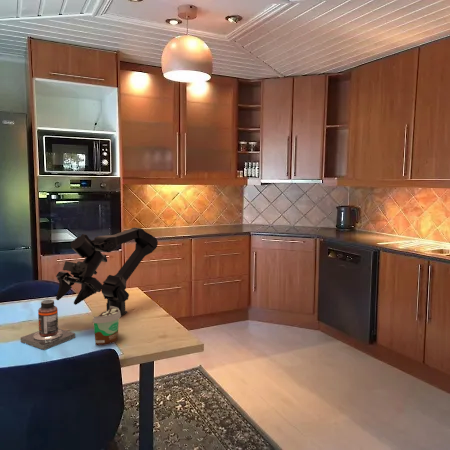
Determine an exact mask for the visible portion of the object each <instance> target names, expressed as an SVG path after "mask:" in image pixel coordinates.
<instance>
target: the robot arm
mask: <svg viewBox="0 0 450 450" xmlns="http://www.w3.org/2000/svg"><path fill="white" fill-rule="evenodd" d="M131 241H133V242H134V243H135V247H134V251H133V252H132V253H131V254H130V256H129V257H128V258H127V259H126V261H125V262H124V264H123V265H122V266H121V268H120V269H119V270H118V271H117V273H116V274H114V275H112V274H109V275H108V276H106V279H105V280H103V281H102V282H101V281H99V280H98V279H97V277H94V275H95V276H97V274H98V271H97V269H98V268H99V266H101V263H102V262H104V263H108V259H107V255H106V254H104V253H111V252H113V251H115V249H117V248H118V246H120V245H122V244H125V243H128V242H131ZM158 244H159V243H158V239H157V237H155V236H153V235H152V234H150V233H148V232H146V231H145V230H144V229H143V228H141V227H132V228H130V229H127V230H124V231H121V232H118V233H116V234H115V233H114V234H111V235H98V236H97V235H96V236H95V237H94V239H91V238H90V237H89V236H88V235H87V234H86V233H85V234H84V233H82V234H81V235H80V236H78V237H76V238H74V239H73V240H72V241H71V244H70V247H71V249H72V250H73V251H74V252H75V253H76V254H77V255H78V256H79V257H80V258H84V259H83V260H82V261H80V260H79V261H77V262H73V261H64V264H63V267H62V270H61V271H58V273H57V274H55V277H56V279H57V281H58V284H59V285H58V290H57V293H56V296H55V300H57V301H59V300H61V299H62V298H63V297H64V296H65V295H66V294H67V293H68V292H69V291H70V290H71V289H72V288H73V287H72V286H74V285H75V284H78V285H80V287H81V288H80V291H79V292H78V294H77V295H76V297H75V299H74V301H73V305H75V306H77V305H78V304H80V303H81V302H83V301H84V300H86V299H87V298H89V297H90V296H92V295H95V294H97V293H100V292H101V293H102V295H103V298H104V300H106V311H107V310H109V309H110V306H114V307H117V308H119V310H120V313H121V317H122V316H124V315H125V314H128V311H127V310H126V301H128V300H129V296H130V294H129V292H127V290H126V289H127V281H128V280H129V278H130V277H131V275H133V273H134V272H135V270H136V269H137V267H138V266H139V265H140V264H141V262H142V261H143V259H144V258H145V257H146V256H148V255H150V254H152V253H153V252H154V251H155V250H156V249H157V247H158ZM102 252H103V253H102ZM69 272H70V273H69ZM102 283H103V284H102Z"/></svg>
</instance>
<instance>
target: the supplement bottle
mask: <svg viewBox="0 0 450 450" xmlns="http://www.w3.org/2000/svg"><path fill="white" fill-rule="evenodd" d="M37 311H38V313H37V314H38V315H37V316H38V331H39V335H41V336H44V337H48V336H53V335H55V334H57V333H58V328H59V314H58V311H59V309H58V307H57V306H56V305H55V300H54V299H44V300H42V301H41V302H40V307H39V308H38V310H37Z"/></svg>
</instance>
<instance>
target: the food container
mask: <svg viewBox="0 0 450 450" xmlns="http://www.w3.org/2000/svg"><path fill="white" fill-rule="evenodd" d="M121 317H122V316H121V313H120V310H119V308H117V307H114V306H110V309H109V310H107V309H106V310H104V311H103V312H101V313H100V314H99V315H98V316H95V315H94V316H93V318H92V323H93V327H94V328H93V330H94V331H93V332H94V344H95V346H105V345H111V344H114V343H115V342H117V341H118V338H119V337H118V335H119V322H120V321H119V320H120V319H121Z"/></svg>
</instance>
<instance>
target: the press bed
mask: <svg viewBox="0 0 450 450" xmlns="http://www.w3.org/2000/svg"><path fill="white" fill-rule="evenodd" d="M75 338H76V333H74V332H72V331H68V330H64V329H63V328H62V329H61V328H59V327H58V333H57V334H55V335H53V336H48V337H44V336H41V335H39V330H38V331H35V332H33V333H29V334H27V335H23V336H21V337H20V342H21V343H22V344H25V343H26V345H27V346H32V347H34V348H37V349H39V348H40V350H42V349H43V351H45V350H48V349H50V348H53V347H55V346H58V345H60V344H63V343H65V342H67V341H70V340H73V339H75Z"/></svg>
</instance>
